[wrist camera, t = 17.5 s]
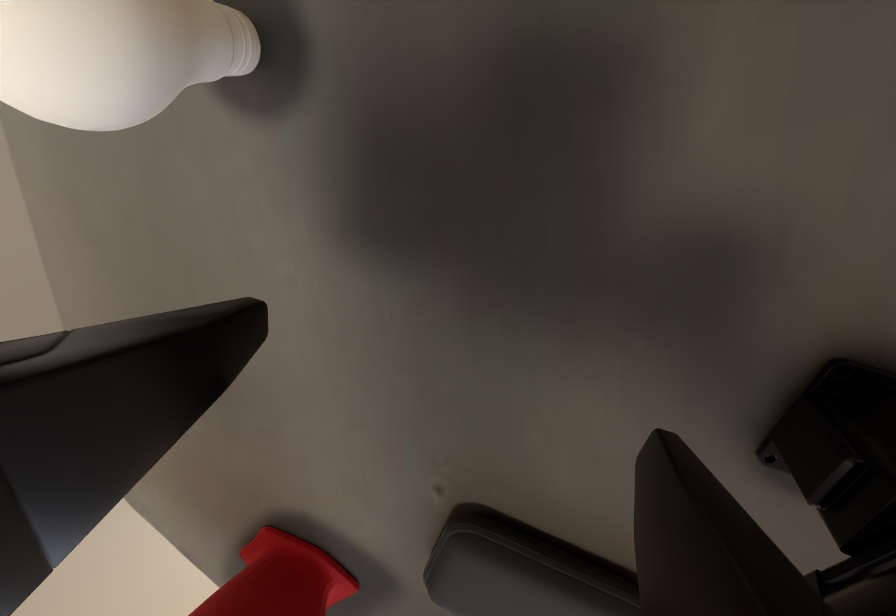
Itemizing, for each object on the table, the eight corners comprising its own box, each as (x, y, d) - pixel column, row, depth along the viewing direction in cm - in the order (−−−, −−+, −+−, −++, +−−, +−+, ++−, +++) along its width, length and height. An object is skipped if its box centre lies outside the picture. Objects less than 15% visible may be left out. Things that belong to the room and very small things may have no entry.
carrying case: (420, 570, 34) (593, 651, 33) (407, 610, 32) (594, 700, 30) (458, 492, 29) (667, 586, 28) (447, 532, 26) (677, 637, 25)
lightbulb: (177, -45, 18) (-247, -190, 9) (303, -36, 17) (-29, -191, 8) (202, 109, 21) (-97, 124, 12) (311, 125, 20) (77, 155, 11)
